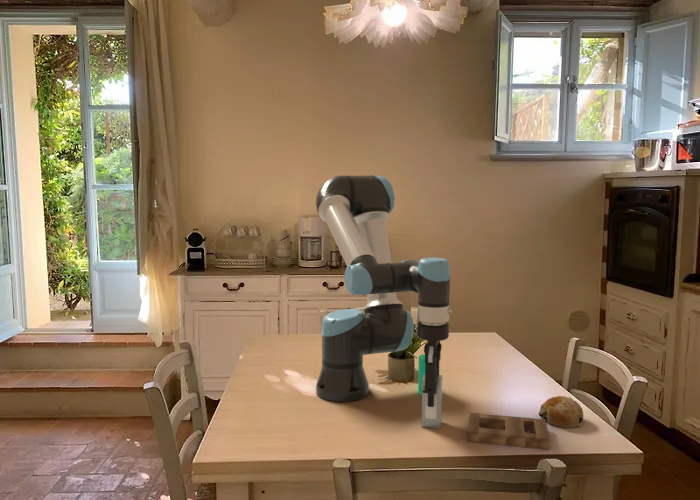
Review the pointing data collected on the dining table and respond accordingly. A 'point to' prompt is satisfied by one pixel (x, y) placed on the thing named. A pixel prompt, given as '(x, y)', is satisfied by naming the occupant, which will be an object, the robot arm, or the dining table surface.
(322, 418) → the dining table surface
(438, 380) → the square bit
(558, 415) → the bread roll
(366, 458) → the dining table surface
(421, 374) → the candle
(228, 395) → the dining table surface
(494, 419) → the socket block
